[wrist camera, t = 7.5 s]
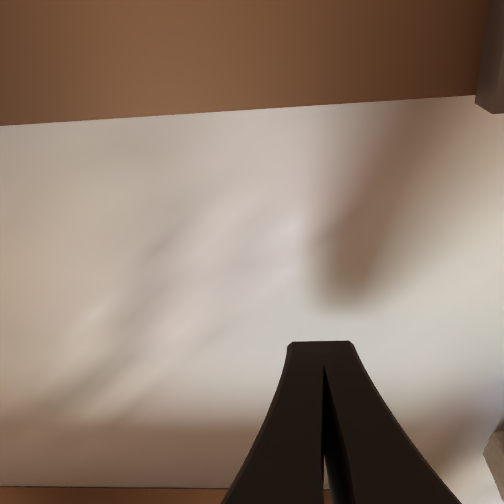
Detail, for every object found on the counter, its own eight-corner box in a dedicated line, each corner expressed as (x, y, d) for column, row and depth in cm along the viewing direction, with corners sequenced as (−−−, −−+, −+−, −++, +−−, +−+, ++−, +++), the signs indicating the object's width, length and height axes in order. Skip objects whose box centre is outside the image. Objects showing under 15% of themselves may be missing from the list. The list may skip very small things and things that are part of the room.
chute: (-72, 522, 17) (-152, 643, 14) (-423, 7, 9) (-794, 17, 6) (415, 531, 16) (448, 669, 12) (508, -85, 8) (667, -137, 4)
